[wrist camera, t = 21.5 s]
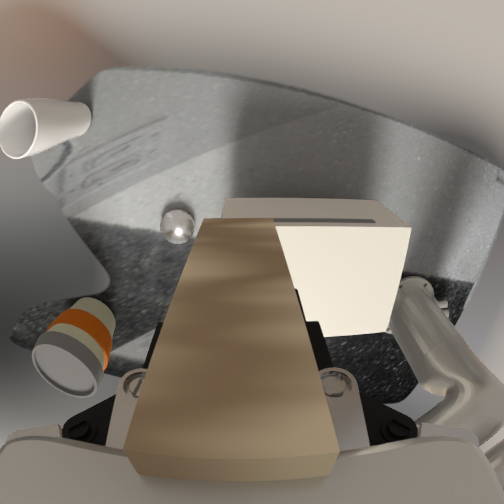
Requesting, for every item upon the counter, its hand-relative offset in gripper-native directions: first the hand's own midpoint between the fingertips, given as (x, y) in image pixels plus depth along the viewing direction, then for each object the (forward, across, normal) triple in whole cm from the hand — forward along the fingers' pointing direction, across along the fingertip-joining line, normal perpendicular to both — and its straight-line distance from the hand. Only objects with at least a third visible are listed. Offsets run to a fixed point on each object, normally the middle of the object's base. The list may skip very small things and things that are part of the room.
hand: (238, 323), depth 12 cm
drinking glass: (+33, +24, -9) cm, 42 cm away
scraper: (+3, 0, +6) cm, 7 cm away
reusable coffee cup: (+33, +28, +26) cm, 51 cm away
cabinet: (+33, -8, +10) cm, 36 cm away
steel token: (+33, +9, +8) cm, 36 cm away
